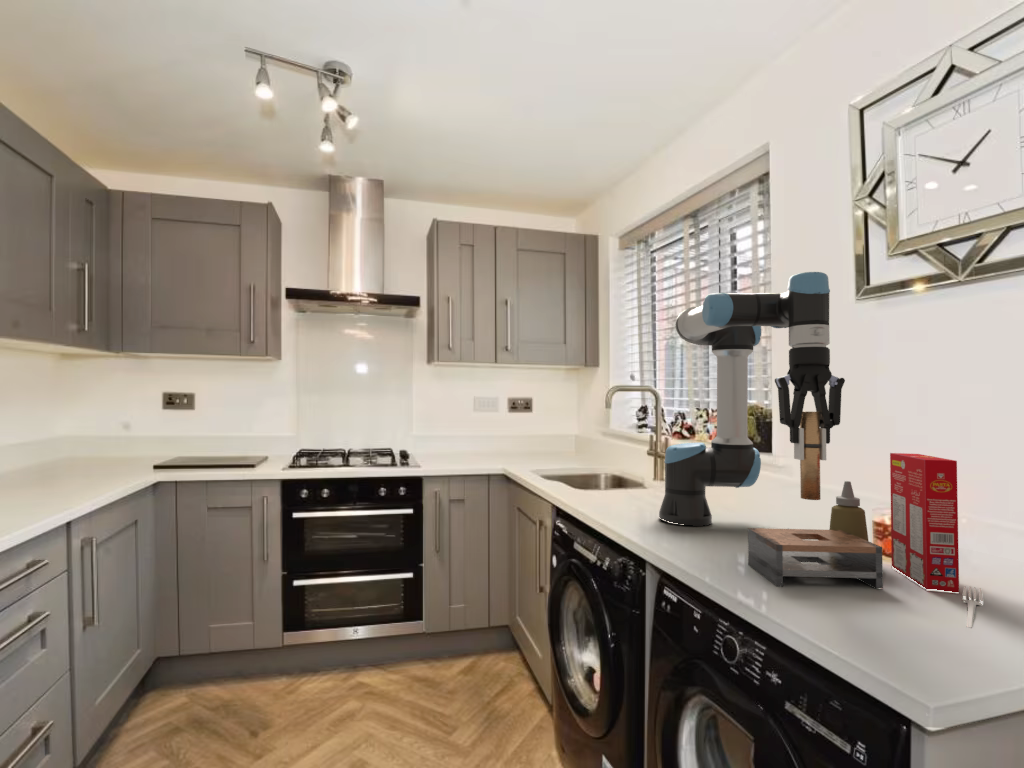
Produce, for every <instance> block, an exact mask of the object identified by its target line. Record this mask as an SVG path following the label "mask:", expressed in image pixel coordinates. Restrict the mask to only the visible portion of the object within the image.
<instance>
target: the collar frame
mask: <svg viewBox="0 0 1024 768" xmlns="http://www.w3.org/2000/svg"><path fill="white" fill-rule="evenodd" d="M747 540H748V541H747V545H748V546H747V547H748V548H747V549H748V550H747V555H748V557H747V558H748V559H747V561H748V562H747V564H748V566H749V567H751V568H752V569H754V570H755V572H757V573H758V574H760V575H761V576H763V577H764V578H765V579H766V580H767V581H769V582H770V583H771V584H772V585H774V586H776V587H783V586H784V577H803V578H804V577H807V578H809V577H810V578H837V579H838V578H840V579H841V578H845V579H849V578H851V579H857V578H858V579H857V580H859V579H860V580H859V581H861V580H862V581H861V582H863V581H864V582H863V583H865V584H866V583H867V584H866V585H868V584H869V585H868V586H870V585H871V586H870V587H872V586H873V587H872V588H874V587H875V588H883V589H884V584H883V583H884V581H883V580H884V578H883V576H884V575H883V574H884V573H883V572H884V571H883V568H884V567H883V547H882V546H880V545H878V544H876V543H873V542H870V541H866V540H864V539H861V538H859V537H857V536H854V535H852V534H849V533H847V532H845V531H842V530H829V529H814V528H813V529H810V528H805V529H804V528H770V527H769V528H765V527H763V528H759V527H758V528H757V527H748V528H747ZM806 563H807V564H806ZM808 563H809V564H808ZM810 563H811V564H810ZM813 563H818V564H813ZM875 588H874V589H875Z"/></svg>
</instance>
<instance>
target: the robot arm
mask: <svg viewBox="0 0 1024 768" xmlns="http://www.w3.org/2000/svg"><path fill="white" fill-rule="evenodd" d="M830 292H831V289H830V284H829V276H828V275H827V274H826V273H825V272H821V271H806V272H800V273H796V274H793V275H791V276H790V277H789V279H788V284H787V291H785V292H765V293H764V292H762V293H761V292H758V293H755V292H753V293H744V292H743V293H741V292H739V293H736V292H734V293H732V292H731V293H729V292H728V293H727V292H717V293H709V294H707V295H706V296H705V297H704V300H703V303H702V305H700V306H692V307H688V308H686V309H684V310H683V311H682V312H680V313H679V314H678V316H677V317H676V320H675V329H676V332H677V334H678V336H679V337H680V338H681V339H682V340H684V341H685V342H686V343H687V342H688V343H690V344H692V345H697V346H711V353H712V354H713V355H714V356H716V436H715V437H714V438H713V439H712V440H711V443H710V444H711V447H707V446H706V444H705V442H686V443H685V442H684V443H677V444H672V445H669V446H668V447H667V448H666V449H665V454H664V497H663V499H662V502H661V505H660V507H659V508H660V509H659V510H658V511H659V512H658V518H659V517H660V518H661V519H664V520H666V521H669V522H673V523H678V524H684V525H693V526H692V527H703V525H705V526H709V524H710V525H711V524H712V523H713V521H712V520H713V519H712V518H713V516H712V512H711V509H710V507H709V503H708V500H707V498H706V497H707V496H706V487H710V488H711V487H712V488H713V487H717V488H718V487H720V488H721V487H723V488H728V487H729V488H735V489H737V488H738V489H739V488H749V487H752V486H754V484H755V483H756V482H757V481H758V479H759V475H760V473H761V468H762V459H761V457H760V456H761V454H760V452H759V450H758V449H757V448H755V447H754V443H753V441H752V440H751V439H750V438H749V436H748V413H749V412H748V407H749V406H748V400H749V399H748V395H749V393H748V385H749V384H748V383H749V382H748V381H749V380H748V379H749V378H748V375H749V371H748V370H749V369H748V368H749V367H748V366H749V365H748V364H749V363H748V360H749V359H748V358H749V356H750V355H751V354H752V353H753V352H754V347H755V346H758V345H759V343H760V341H761V337H762V327H771V328H774V329H787V328H788V346H789V347H791V348H790V349H789V350H788V366H789V367H788V368H789V369H788V371H787V373H786V374H785V375H784V376H783V375H782V376H780V377H776V378H774V383H775V386H776V388H777V396H778V397H777V398H778V411H779V415H778V416H779V423H780V424H781V425H784V426H787V427H788V428H789V442H790V443H791V444H793V459H795V460H799V461H800V460H804V428H800V422H801V417H802V412H804V411H803V410H804V406H805V399H806V396H807V395H808V392H810V393H811V396H812V397H813V402H814V407H815V412H820V461H827V444H828V445H829V444H830V443H831V429H832V428H833V427H835V426H839V425H840V424H841V412H842V411H841V409H842V408H841V407H842V389H843V386H844V384H845V381H846V380H845V378H844V377H838V376H834V375H833V374H832V372H831V370H830V364H831V350H830V348H829V347H827V346H828V345H830V343H831V341H830V338H831V337H830ZM790 382H791V384H792V385H793V392H792V393H793V398H792V403H791V400H790V399H791V398H790V397H791V396H790V388H789V386H790ZM827 384H828V385H829V388H828V389H829V391H828V402H827V397H826V395H827V392H826V387H825V386H826V385H827Z"/></svg>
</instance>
